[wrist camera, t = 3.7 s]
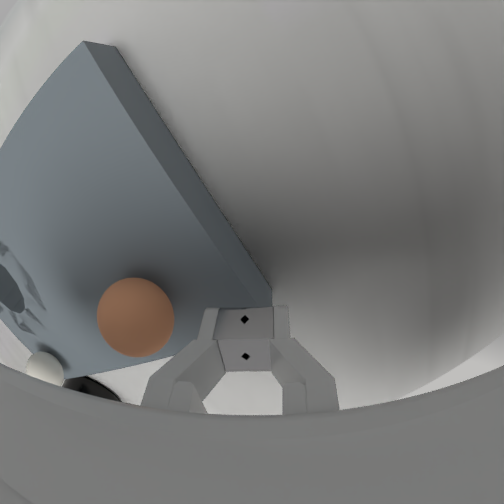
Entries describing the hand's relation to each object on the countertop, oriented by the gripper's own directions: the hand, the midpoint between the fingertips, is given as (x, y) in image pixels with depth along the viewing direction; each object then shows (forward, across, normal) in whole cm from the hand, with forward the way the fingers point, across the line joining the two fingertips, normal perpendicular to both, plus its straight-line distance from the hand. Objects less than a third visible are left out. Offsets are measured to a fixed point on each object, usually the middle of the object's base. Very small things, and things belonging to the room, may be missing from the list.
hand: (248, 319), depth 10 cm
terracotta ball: (0, +4, 0) cm, 5 cm away
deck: (+4, +11, -1) cm, 12 cm away
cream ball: (0, +16, +6) cm, 17 cm away
